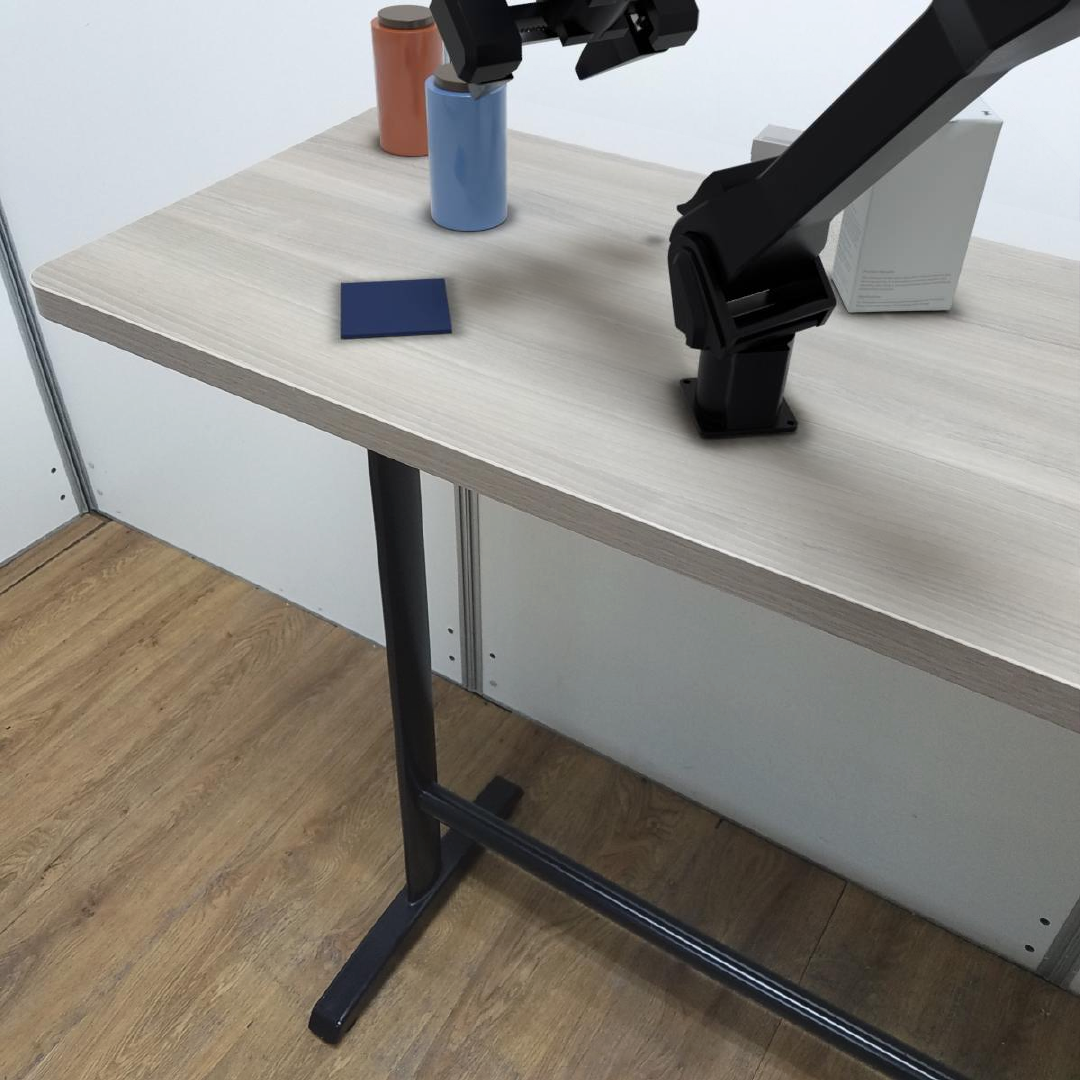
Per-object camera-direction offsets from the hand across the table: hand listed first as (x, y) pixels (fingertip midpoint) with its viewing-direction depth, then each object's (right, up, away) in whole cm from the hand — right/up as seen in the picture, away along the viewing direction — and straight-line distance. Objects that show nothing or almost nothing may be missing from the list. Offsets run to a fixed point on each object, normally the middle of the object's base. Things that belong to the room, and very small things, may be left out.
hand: (527, 84), depth 81 cm
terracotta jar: (-11, +5, +26) cm, 29 cm away
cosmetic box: (+28, -15, +4) cm, 32 cm away
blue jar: (-5, -6, +13) cm, 16 cm away
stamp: (+20, -8, +12) cm, 25 cm away
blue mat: (-10, -17, +1) cm, 19 cm away
